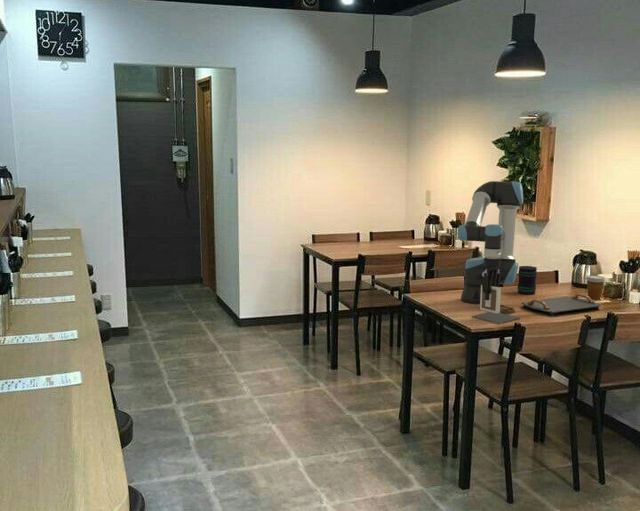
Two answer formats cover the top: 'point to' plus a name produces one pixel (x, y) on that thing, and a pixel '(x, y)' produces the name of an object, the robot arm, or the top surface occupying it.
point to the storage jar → (527, 280)
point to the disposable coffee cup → (595, 286)
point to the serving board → (562, 304)
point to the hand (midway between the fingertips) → (489, 306)
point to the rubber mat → (496, 317)
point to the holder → (506, 309)
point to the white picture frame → (494, 300)
